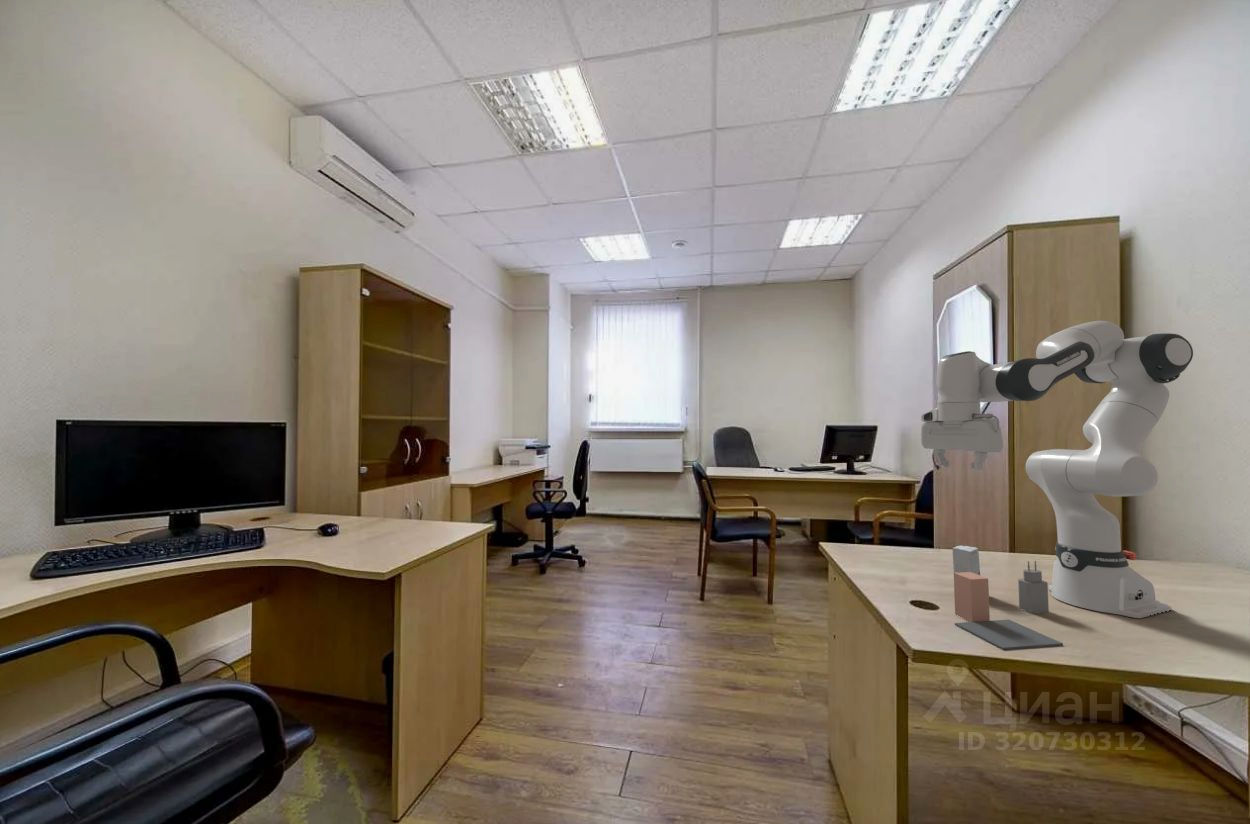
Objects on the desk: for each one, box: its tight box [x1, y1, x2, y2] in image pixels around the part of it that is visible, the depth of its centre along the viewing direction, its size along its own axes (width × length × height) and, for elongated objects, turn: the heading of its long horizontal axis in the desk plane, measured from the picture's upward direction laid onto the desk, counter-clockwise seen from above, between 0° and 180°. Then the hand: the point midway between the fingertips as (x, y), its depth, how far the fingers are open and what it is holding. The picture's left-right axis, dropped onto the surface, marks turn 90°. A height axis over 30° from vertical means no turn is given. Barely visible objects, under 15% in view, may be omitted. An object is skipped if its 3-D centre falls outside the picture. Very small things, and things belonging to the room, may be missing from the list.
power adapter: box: [1017, 560, 1050, 614], centre depth 105 cm, size 3×5×12 cm, turn 96°
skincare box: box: [952, 545, 981, 576], centre depth 116 cm, size 6×4×12 cm
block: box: [953, 572, 991, 622], centre depth 101 cm, size 4×4×10 cm
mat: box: [954, 619, 1064, 651], centre depth 93 cm, size 14×11×1 cm
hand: (959, 468), depth 109 cm, fingers open, 8 cm apart
